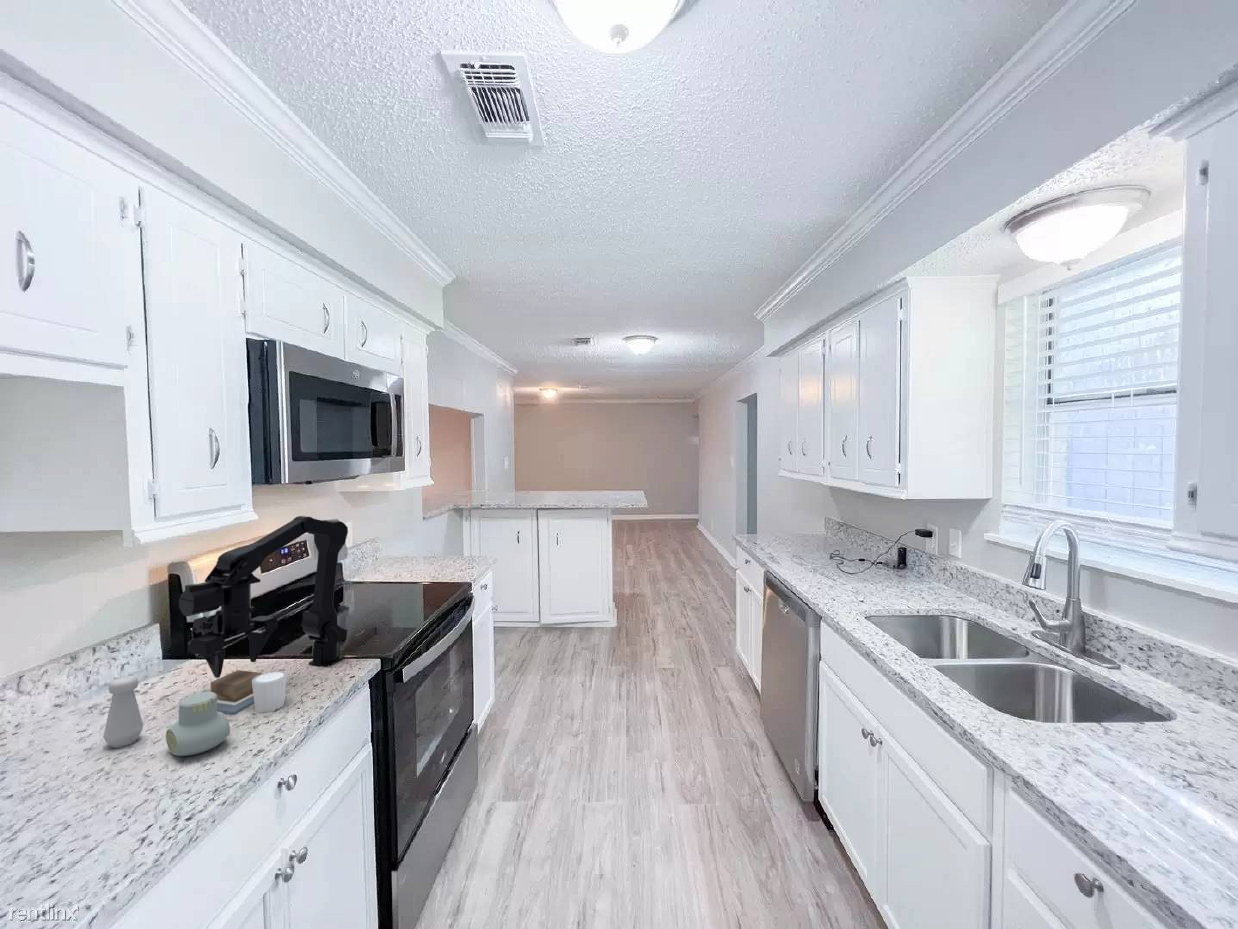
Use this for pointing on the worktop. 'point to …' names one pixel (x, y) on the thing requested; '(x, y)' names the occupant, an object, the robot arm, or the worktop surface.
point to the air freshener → (197, 725)
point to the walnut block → (234, 686)
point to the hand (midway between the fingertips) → (235, 669)
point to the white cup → (269, 690)
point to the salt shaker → (123, 713)
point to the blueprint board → (234, 705)
